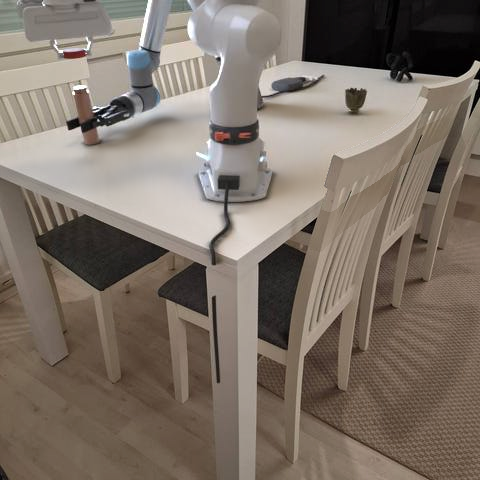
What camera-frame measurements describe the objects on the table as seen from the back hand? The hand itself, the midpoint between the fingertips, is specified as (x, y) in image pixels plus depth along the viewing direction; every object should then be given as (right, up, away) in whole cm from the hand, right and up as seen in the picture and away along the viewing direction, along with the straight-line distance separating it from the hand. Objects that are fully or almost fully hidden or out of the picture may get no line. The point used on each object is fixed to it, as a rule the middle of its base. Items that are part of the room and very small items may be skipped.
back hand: (75, 127), depth 130 cm
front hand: (+7, +13, -19) cm, 23 cm away
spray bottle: (+73, +35, +65) cm, 103 cm away
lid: (+7, +14, -20) cm, 25 cm away
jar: (+3, -3, +7) cm, 8 cm away
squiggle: (+120, +39, +70) cm, 145 cm away
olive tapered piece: (+89, +12, +28) cm, 94 cm away
